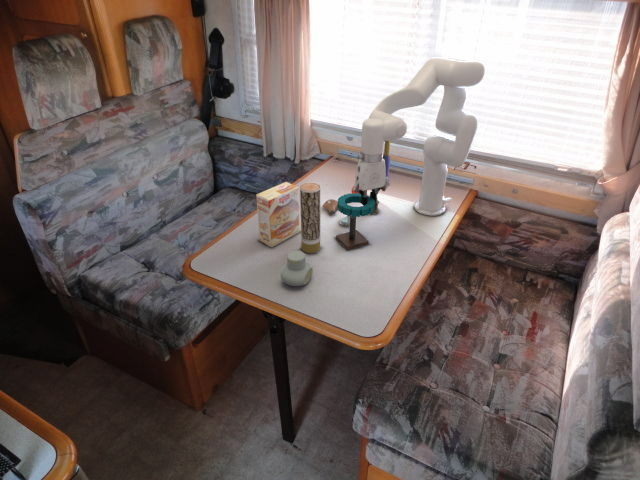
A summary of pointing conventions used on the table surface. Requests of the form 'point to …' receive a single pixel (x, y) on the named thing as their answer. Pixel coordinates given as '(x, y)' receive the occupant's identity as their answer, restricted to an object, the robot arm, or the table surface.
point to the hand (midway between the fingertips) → (368, 203)
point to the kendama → (377, 199)
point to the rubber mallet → (387, 157)
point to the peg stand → (352, 237)
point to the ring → (355, 211)
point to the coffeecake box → (278, 213)
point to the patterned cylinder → (310, 217)
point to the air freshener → (296, 269)
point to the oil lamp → (330, 206)
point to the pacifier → (345, 220)
